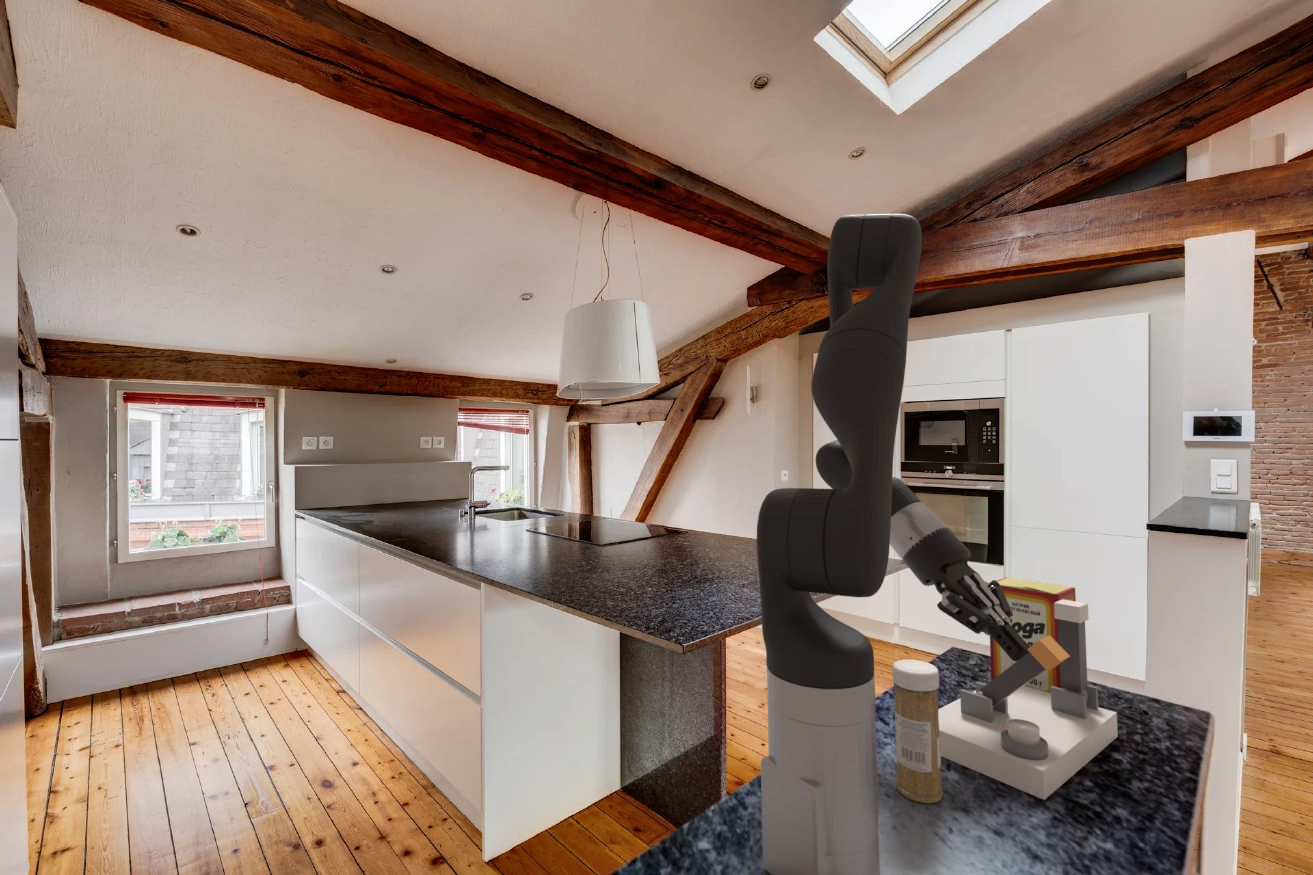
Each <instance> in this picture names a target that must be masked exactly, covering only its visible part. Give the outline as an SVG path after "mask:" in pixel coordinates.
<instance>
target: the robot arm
mask: <svg viewBox="0 0 1313 875" xmlns="http://www.w3.org/2000/svg"><path fill="white" fill-rule="evenodd" d="M922 236H923V234H922V228H921V224H920V222H919V220H918V219H917V218H916V217H914V216H912V215H909V214H904V213H881V214H880V213H877V214H851V215H850V214H849V215H844V216H843V215H842V216H840V217H839V218H838V219H837V220H836V221H835V223H834V225H833V227H832V230H831V232H830V238H829V243H828V251H827V289H828V290H827V292H828V312H829V313H828V314H829V329H828V330H827V331H826V332H825V334H824V335H823V337H822V340H821V342H820V345H819V348H818V351H817V356H816V360H815V363H814V369H813V373H812V379H811V387H810V388H811V389H810V390H811V394H812V398H813V402H814V405H815V407H816V408H817V410H818V412H819V414H820V416H821V417H822V419H823V421H824V422H825V424H826V425H827V427H828V428H829V429H830V431H831V432H832V434H833V435H834V437H835V438H836V440H833V441H831V442H827V443H825V444H823V445H821V447H819V449H817V452H816V454H815V465H816V469H817V472H818V474H819V476H820V478H821V479H822V481H824V483H825V484H827V486H828V487H829V488H808V487H807V488H804V487H799V488H798V487H797V488H796V487H795V488H794V487H792V488H791V487H783V488H776V489H774V490H772V491H770V492H769V493H768V494H767V495H766V496H765V497H764V499H763V501H762V503H761V506H760V508H759V512H758V517H757V525H756V557H757V560H756V561H757V568H758V570H757V572H758V579H759V581H758V583H759V584H758V585H759V595H760V608H761V612H760V613H761V631H762V637H763V642H764V648H765V653H766V658H765V660H766V682H767V683H766V684H767V685H766V687H767V688H766V690H767V691H766V692H767V693H766V694H767V695H766V696H767V737H768V739H767V743H768V755H766V756H764V757H763V758H762V759H761V760H760V777H761V778H760V784H761V787H760V788H761V792H760V793H761V825H762V826H761V829H762V830H761V831H762V867H763V869H764V870H765V871H767V872H768V873H769V874H770V875H881V874H880V871H881V870H880V867H881V866H880V831H879V830H880V829H879V801H878V800H879V798H878V797H879V796H878V795H879V793H878V766H877V765H878V764H877V763H878V762H877V725H876V688H875V687H876V685H875V655H874V648H873V646H872V643H871V642H870V640H869V639H868V638H867V636H866V635H864V634H863V633H862V632H860V631H859V630H857V629H855V628H854V627H852V626H850V625H848V624H846V623H844V622H842V621H840V620H838V619H837V618H835V617H834V616H832V615H831V614H829V613H827V611H825V610H824V609H823V608H822V607H821V606H819V605H818V603H817V602H815V600H814V598H812V596H811V593H814V594H823V595H833V596H839V597H847V598H848V597H849V598H870V597H872V596H874V595H875V594H877V593H878V591H880V588H881V587H882V586H883V583H884V581H885V577H886V574H887V569H888V564H889V557H890V547H891V548H892V549H893V550H894V552H895V553H896V554H897V556H899V558H900V559H901V560H902V561H903V563H904V564H905V565H906V566H907V567H908V569H909V570H910V571H911V572H912V573H913V575H914V576H916V578H917V579H918V580H919V582H920V583H921V584H922V585H923V586H925V587H930V586H934V587H935V589H936V591H937V592H938V593H939V594H940V595H941V600H940V601H939V602H938V603H937V604H936V606H937V608H938V609H939V610H940V611H941V612H943V613H944V614H945V615H947V616H948V617H950V618H952V619H953V620H955V622H958V623H960V624H961V625H963V626H964V627H965V628H967V629H968V630H970V631H972V632H974V633H975V634H977V635H979V634H981V633H983V634H985V635H986V636H989V637H990V635H991V636H992V637H993V638H994V640H995V641H996V642H997V643H998V644H999V645H1000V647H1001V648H1002V649H1003V650H1004V651H1005V652H1006V653H1007V655H1008V656H1009V657H1010V658H1011V659H1012V660H1013V661H1018V660H1019V659H1021V658H1022V657H1023V656H1025V655H1026V654H1027V653H1029V651H1028V650H1027V649H1028V648H1030V646H1029V645H1028V644H1027V643H1026V642H1025V641H1024V640H1023V639H1022V637H1021V636H1020V635H1019V634H1018V633H1017V632H1016V631H1015V630H1014V629H1013V627H1012V626H1011V625H1010V624H1009V623H1010V622H1011V621H1010V619H1009V618H1010V617H1011V616H1013V613H1012V611H1011V609H1010V606H1009V604H1008V602H1007V599H1006V597H1005V595H1004V592H1003V590H1002V588H1001V586H1000V584H999V583H998V582H997V580H995V579H992V581H990V582H987V581H985V580H984V578H982V576H981V575H980V573H979V572H977V570H975V569H973V568H972V567H971V566H970V565H969V564H968V561H969V560H970V557H971V555H972V554H971V551H970V550H969V548H967V547H966V545H965V544H964V543H963V542H962V541H961V540H960V539H959V538H958V537H957V536H956V535H955V533H953V531H952V530H951V529H950V528H949V527H948V526H947V525H946V524H945V523H944V522H943V521H942V520H941V518H939V516H938V515H937V514H935V512H933V511H932V510H931V509H930V508H929V507H928V506H926V505H925V504H924V503H923V502H922V501H921V500H920V498H918V497H917V495H916V494H915V493H914V492H913V491H912V490H911V489H910V488H909V487H908V486H907V485H906V484H905V482H903V481H902V480H901V479H900V478H899V477H896V476H893V473H894V472H893V471H894V470H893V469H894V454H895V442H896V434H897V428H898V420H899V413H900V409H901V402H902V395H903V390H904V383H905V373H906V366H907V365H906V364H907V353H908V352H907V350H908V336H909V335H908V333H909V320H910V313H911V306H912V299H913V296H914V290H915V286H916V281H917V276H918V271H919V266H920V261H921V254H922V246H923V237H922ZM858 289H859V290H874V291H873V292H872V293H870V294H869V295H868V296H866V297H865V298H864V299H862V300H860V302H858V303H857V304H855V306H854V300H853V298H854V296H853V290H858Z"/></svg>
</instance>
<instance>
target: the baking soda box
mask: <svg viewBox="0 0 1313 875" xmlns="http://www.w3.org/2000/svg"><path fill="white" fill-rule="evenodd" d="M996 581H997V582H998V583H999V584H1000V586H1001V588H1002V590H1003V592H1004V595H1005V597H1006V599H1007V602H1008V604H1009V606H1010V609H1011V611H1012V613H1013V616H1011V617H1010V618H1009V619H1010V621H1011V622H1010V623H1009V624H1010V625H1011V626H1012V627H1013V629H1014V630H1015V631H1016V632H1017V633H1018V634H1019V635H1020V636H1021V637H1022V639H1023V640H1024V641H1025V642H1026V643H1027V644H1028V645H1029V646H1030V647H1031V646H1032V645H1034V644H1035V643H1036V642H1038V641H1039V640H1041V639H1043V638H1045V637H1047V636H1049V635H1050V636H1051V637H1052V638H1053V639H1054V640H1055V641H1056V642H1057V643H1058V644H1059V627H1058V619H1055V616H1054V603H1055V602H1057V601H1060V600H1062V599H1064V600H1070V601H1076V587H1073V586H1067V585H1066V586H1065V585H1061V584H1054V583H1049V582H1043V581H1031V580H1025V579H1018V578H1013V577H1012V578H1011V577H1004V578H1000V579H997V580H996ZM1076 602H1077V601H1076ZM989 647H990V648H989V651H990V652H989V653H990V677H991V678H990V680H991V681H992V680H993V679H995V678H996V677H997V676H998V675H1000V674H1001V673H1002V672H1004V671H1005V670H1006V669H1008V668H1009V667H1010V666H1012V665H1013V664H1014V663H1016V662H1017V661H1013V660H1012V659H1011V658H1010V657H1009V656H1008V655H1007V653H1006V652H1005V651H1004V650H1003V649H1002V648H1001V647H1000V645H999V644H998V643H997V642H996V641H995V640H994V638H993V637H992V636H991V635H990V636H989ZM1012 663H1013V664H1012ZM991 681H990V682H991ZM1024 686H1027V687H1030V688H1034V689H1037V690H1041V691H1044V692H1048V693H1051V687H1052V686H1055V687H1058V688H1062V687H1061V679H1060V664H1059V665H1057V666H1055V667H1054V668H1052V669H1050V670H1048V671H1047V670H1045V671H1043V672H1042V673H1041V674H1039V675H1038V676H1036V677H1035V678H1034V679H1032V680H1031V681H1030V682H1028V683H1027V684H1025V685H1024ZM1062 689H1064V688H1062Z"/></svg>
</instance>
